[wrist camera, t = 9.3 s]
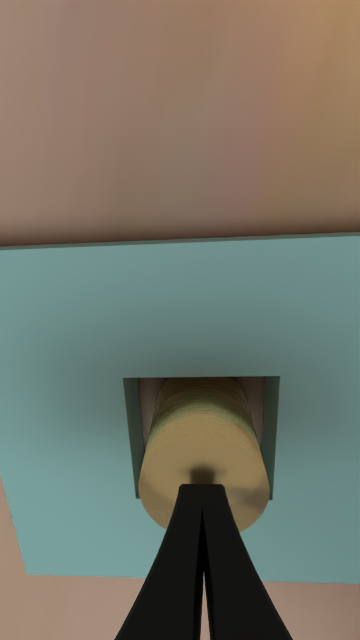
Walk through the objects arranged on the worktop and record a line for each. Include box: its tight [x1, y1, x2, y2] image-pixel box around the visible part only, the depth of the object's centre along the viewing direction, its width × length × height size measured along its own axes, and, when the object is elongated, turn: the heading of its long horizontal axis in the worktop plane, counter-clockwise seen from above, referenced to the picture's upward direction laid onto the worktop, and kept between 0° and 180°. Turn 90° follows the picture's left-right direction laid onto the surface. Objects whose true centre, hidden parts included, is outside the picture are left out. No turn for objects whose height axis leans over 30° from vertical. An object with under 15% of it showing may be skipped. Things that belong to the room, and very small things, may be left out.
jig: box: [0, 232, 360, 584], centre depth 14 cm, size 18×16×2 cm
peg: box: [138, 377, 270, 533], centre depth 13 cm, size 4×4×5 cm
